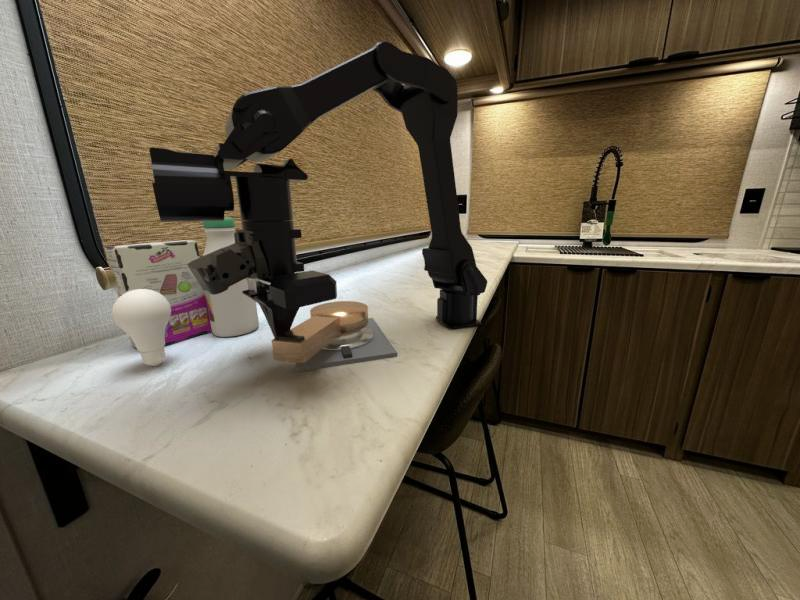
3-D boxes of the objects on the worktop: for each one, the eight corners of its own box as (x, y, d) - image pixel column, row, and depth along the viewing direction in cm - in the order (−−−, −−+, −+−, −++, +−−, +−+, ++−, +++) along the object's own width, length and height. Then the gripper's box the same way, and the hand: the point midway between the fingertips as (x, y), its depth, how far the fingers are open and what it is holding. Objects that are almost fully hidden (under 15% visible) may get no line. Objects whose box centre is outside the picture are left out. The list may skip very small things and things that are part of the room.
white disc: (366, 324, 57) (366, 313, 57) (379, 345, 48) (379, 333, 47) (307, 331, 55) (306, 320, 54) (309, 355, 45) (307, 342, 44)
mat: (372, 320, 61) (372, 314, 61) (397, 356, 45) (397, 348, 45) (297, 329, 57) (297, 323, 57) (296, 371, 41) (295, 363, 41)
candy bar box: (201, 326, 60) (184, 239, 56) (215, 331, 57) (198, 240, 53) (129, 347, 51) (102, 245, 47) (142, 353, 48) (114, 246, 44)
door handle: (328, 313, 56) (327, 298, 55) (376, 317, 53) (375, 300, 53) (256, 358, 39) (253, 336, 38) (322, 366, 36) (319, 342, 36)
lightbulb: (117, 372, 42) (95, 293, 40) (163, 353, 48) (147, 283, 45) (147, 379, 40) (126, 296, 38) (192, 359, 46) (176, 285, 43)
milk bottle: (267, 323, 61) (252, 217, 56) (244, 338, 53) (225, 217, 48) (229, 323, 62) (211, 218, 56) (202, 337, 54) (178, 218, 49)
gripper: (166, 220, 37) (190, 340, 42) (221, 225, 25) (246, 395, 29) (260, 218, 45) (271, 320, 50) (336, 222, 33) (343, 357, 37)
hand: (281, 342), depth 41 cm, fingers closed
